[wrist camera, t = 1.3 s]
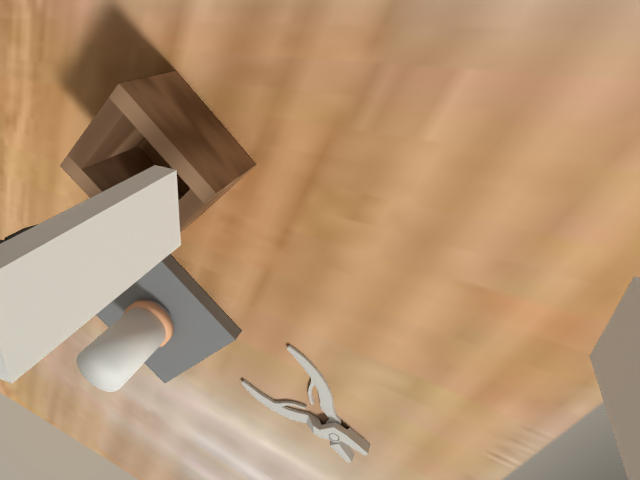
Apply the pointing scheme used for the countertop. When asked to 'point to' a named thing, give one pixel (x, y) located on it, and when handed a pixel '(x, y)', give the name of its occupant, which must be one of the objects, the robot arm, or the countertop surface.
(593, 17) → the countertop surface
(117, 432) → the countertop surface
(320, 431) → the pliers
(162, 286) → the square plate with peg
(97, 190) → the collar
